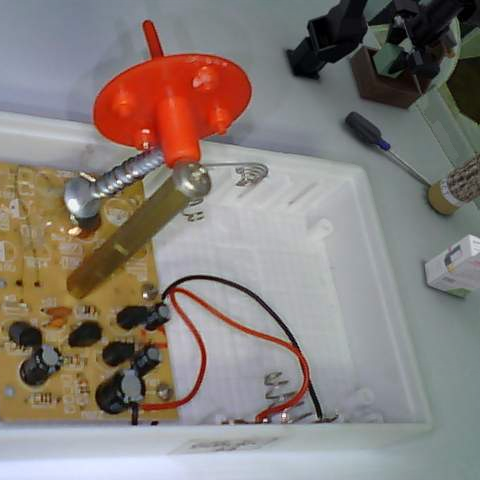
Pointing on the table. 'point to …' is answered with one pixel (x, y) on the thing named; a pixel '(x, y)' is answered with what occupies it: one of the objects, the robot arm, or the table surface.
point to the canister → (456, 187)
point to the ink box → (456, 268)
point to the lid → (440, 54)
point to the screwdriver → (374, 137)
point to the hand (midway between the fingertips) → (386, 64)
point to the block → (387, 59)
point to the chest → (383, 81)
